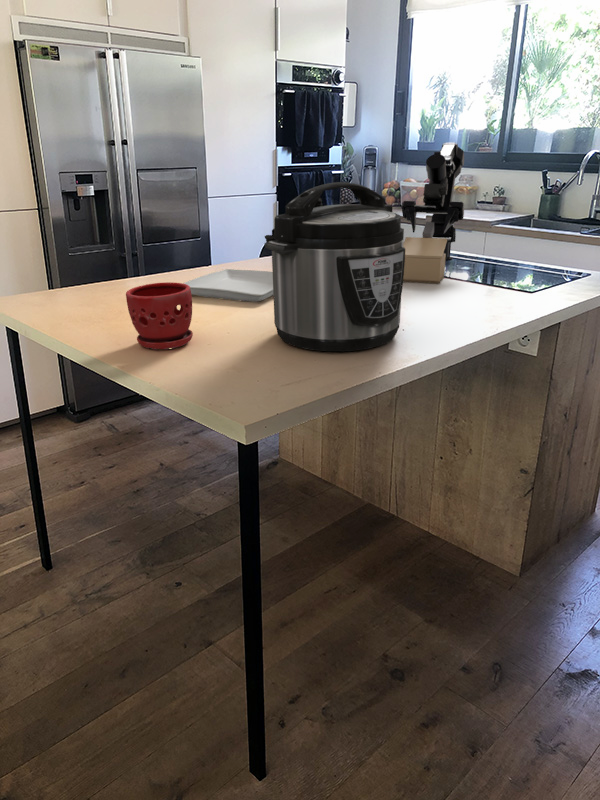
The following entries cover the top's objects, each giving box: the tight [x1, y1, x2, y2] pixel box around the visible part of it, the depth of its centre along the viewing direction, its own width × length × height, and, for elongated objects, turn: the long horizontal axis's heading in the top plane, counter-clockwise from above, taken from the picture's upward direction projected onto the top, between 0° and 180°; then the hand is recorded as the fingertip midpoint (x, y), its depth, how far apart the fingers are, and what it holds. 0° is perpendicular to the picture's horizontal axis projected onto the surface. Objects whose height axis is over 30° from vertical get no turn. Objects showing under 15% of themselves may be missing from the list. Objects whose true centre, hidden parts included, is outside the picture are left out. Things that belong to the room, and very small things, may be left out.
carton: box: [403, 254, 446, 285], centre depth 192 cm, size 10×12×7 cm
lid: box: [403, 221, 448, 259], centre depth 192 cm, size 17×12×3 cm
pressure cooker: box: [264, 181, 405, 352], centre depth 132 cm, size 30×28×32 cm
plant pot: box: [125, 281, 194, 350], centre depth 133 cm, size 13×13×12 cm
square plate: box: [182, 268, 273, 303], centre depth 182 cm, size 27×27×4 cm
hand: (428, 232), depth 195 cm, fingers open, 9 cm apart
